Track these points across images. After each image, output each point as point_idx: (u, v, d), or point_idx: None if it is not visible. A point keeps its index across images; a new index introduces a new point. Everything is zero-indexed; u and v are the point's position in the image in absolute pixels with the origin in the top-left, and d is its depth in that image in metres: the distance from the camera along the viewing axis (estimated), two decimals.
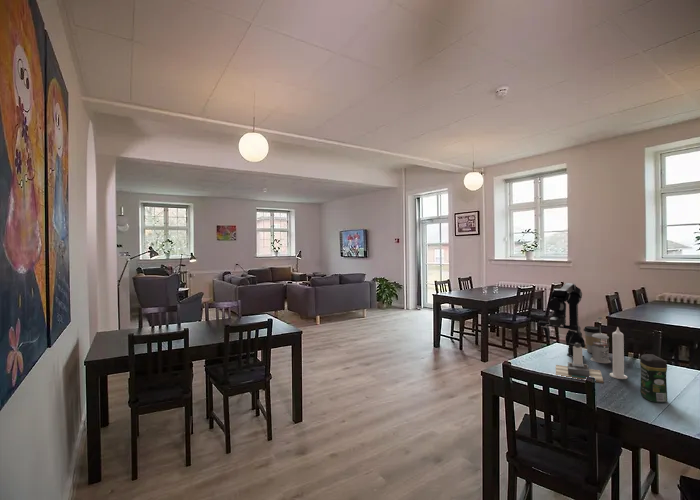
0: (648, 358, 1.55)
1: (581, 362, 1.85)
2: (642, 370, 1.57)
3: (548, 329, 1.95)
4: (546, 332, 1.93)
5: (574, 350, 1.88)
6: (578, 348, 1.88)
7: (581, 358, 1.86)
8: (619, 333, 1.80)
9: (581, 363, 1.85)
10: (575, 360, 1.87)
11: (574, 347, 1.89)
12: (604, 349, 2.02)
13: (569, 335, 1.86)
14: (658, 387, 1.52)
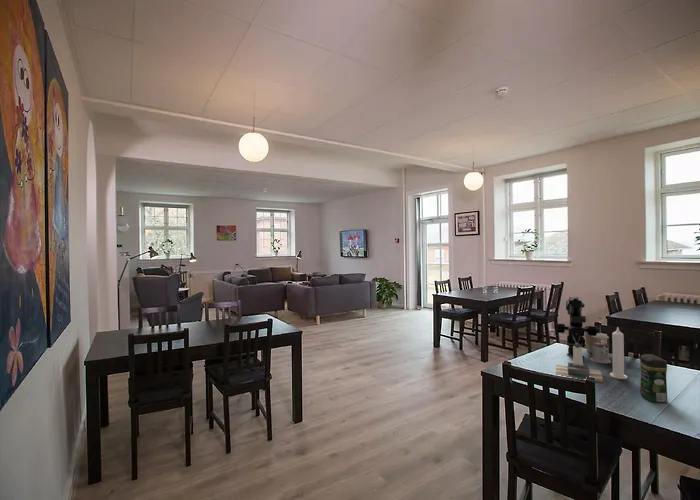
0: (648, 358, 1.55)
1: (581, 362, 1.85)
2: (642, 370, 1.57)
3: None
4: (574, 334, 1.97)
5: (574, 350, 1.89)
6: (578, 348, 1.88)
7: (581, 358, 1.86)
8: (619, 333, 1.80)
9: (581, 363, 1.85)
10: (575, 360, 1.87)
11: (574, 347, 1.89)
12: (604, 349, 2.02)
13: (578, 334, 1.96)
14: (658, 387, 1.52)
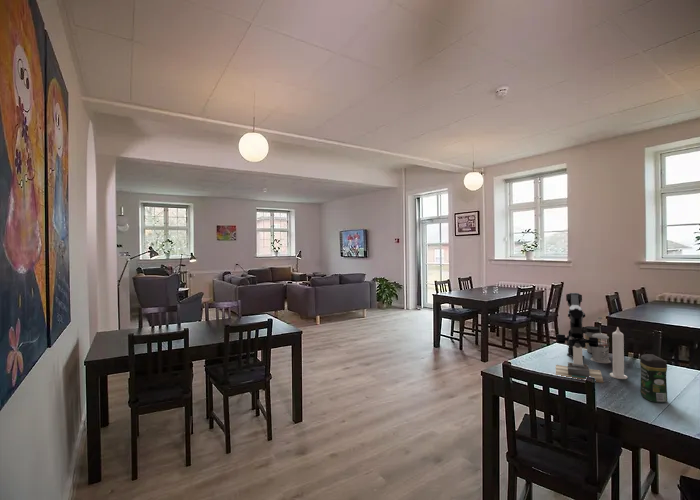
0: (648, 358, 1.55)
1: (581, 362, 1.85)
2: (642, 370, 1.57)
3: None
4: None
5: (574, 350, 1.88)
6: (578, 348, 1.88)
7: (581, 358, 1.86)
8: (619, 333, 1.80)
9: (581, 363, 1.85)
10: (575, 360, 1.87)
11: (574, 347, 1.89)
12: (604, 349, 2.02)
13: None
14: (658, 387, 1.52)
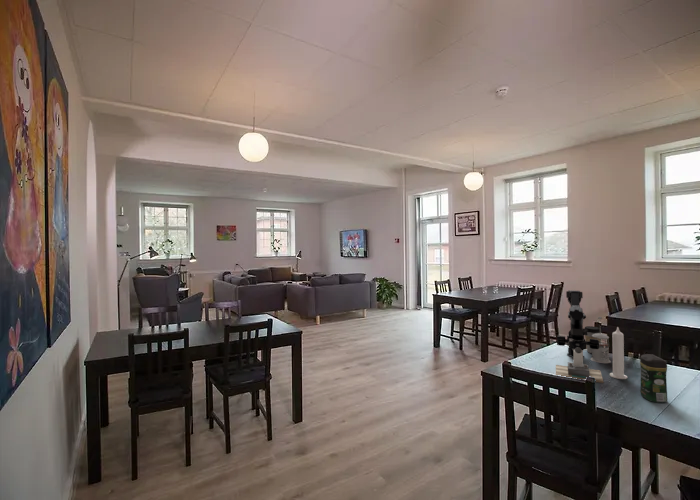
0: (648, 358, 1.55)
1: (581, 364, 1.84)
2: (642, 370, 1.57)
3: (575, 346, 1.90)
4: (575, 347, 1.87)
5: (574, 355, 1.83)
6: (579, 353, 1.82)
7: (581, 361, 1.83)
8: (619, 333, 1.80)
9: (581, 365, 1.84)
10: (575, 363, 1.85)
11: (575, 352, 1.83)
12: (604, 349, 2.02)
13: None
14: (658, 387, 1.52)
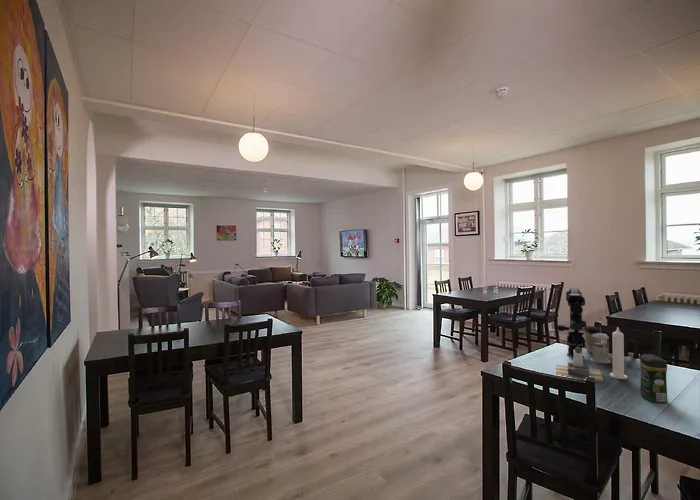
0: (648, 358, 1.55)
1: (581, 364, 1.84)
2: (642, 370, 1.57)
3: None
4: (574, 337, 1.98)
5: (574, 355, 1.83)
6: (579, 353, 1.82)
7: (581, 361, 1.83)
8: (619, 333, 1.80)
9: (581, 365, 1.84)
10: (575, 363, 1.85)
11: (575, 352, 1.83)
12: (604, 349, 2.02)
13: (578, 337, 1.97)
14: (658, 387, 1.52)
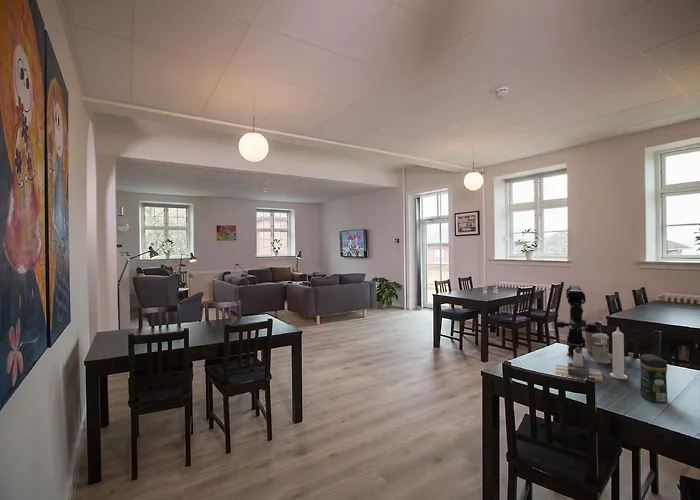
0: (648, 358, 1.55)
1: (581, 364, 1.84)
2: (642, 370, 1.57)
3: None
4: (574, 333, 2.00)
5: (574, 355, 1.83)
6: (579, 353, 1.82)
7: (581, 361, 1.83)
8: (619, 333, 1.80)
9: (581, 365, 1.84)
10: (575, 363, 1.85)
11: (575, 352, 1.83)
12: (604, 349, 2.02)
13: (578, 333, 1.99)
14: (658, 387, 1.52)
